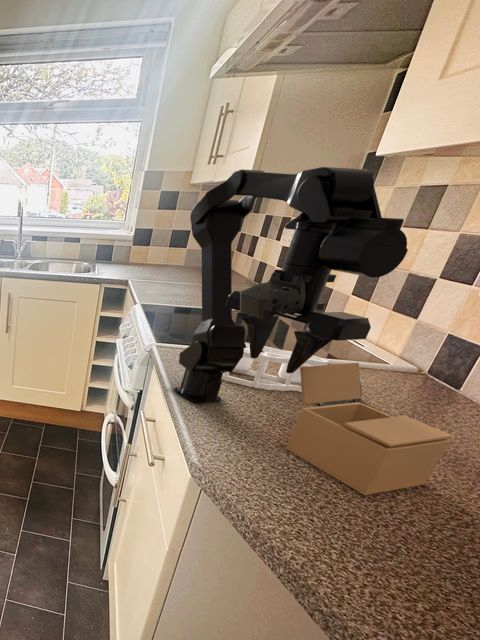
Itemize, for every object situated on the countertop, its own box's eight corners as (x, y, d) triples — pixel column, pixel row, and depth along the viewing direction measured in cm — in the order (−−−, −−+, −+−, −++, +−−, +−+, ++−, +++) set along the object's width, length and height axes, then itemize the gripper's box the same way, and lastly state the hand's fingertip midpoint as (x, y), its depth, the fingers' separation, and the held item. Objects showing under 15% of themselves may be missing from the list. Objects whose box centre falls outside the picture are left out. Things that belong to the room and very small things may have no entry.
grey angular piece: (315, 389, 92) (314, 361, 84) (359, 390, 88) (362, 361, 80) (314, 429, 89) (313, 403, 81) (359, 432, 84) (363, 405, 76)
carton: (285, 448, 68) (304, 403, 65) (339, 441, 71) (360, 397, 68) (364, 495, 58) (391, 444, 54) (424, 484, 61) (454, 435, 57)
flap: (305, 404, 65) (302, 404, 65) (361, 398, 68) (358, 398, 68) (302, 366, 65) (299, 367, 65) (359, 362, 68) (356, 362, 68)
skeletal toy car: (314, 385, 93) (327, 355, 90) (316, 402, 85) (330, 369, 82) (215, 363, 104) (223, 335, 101) (207, 376, 96) (217, 346, 93)
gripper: (212, 255, 66) (187, 348, 73) (330, 277, 50) (284, 393, 57) (267, 256, 69) (238, 345, 76) (397, 276, 53) (346, 388, 59)
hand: (270, 365), depth 67 cm, fingers open, 6 cm apart
